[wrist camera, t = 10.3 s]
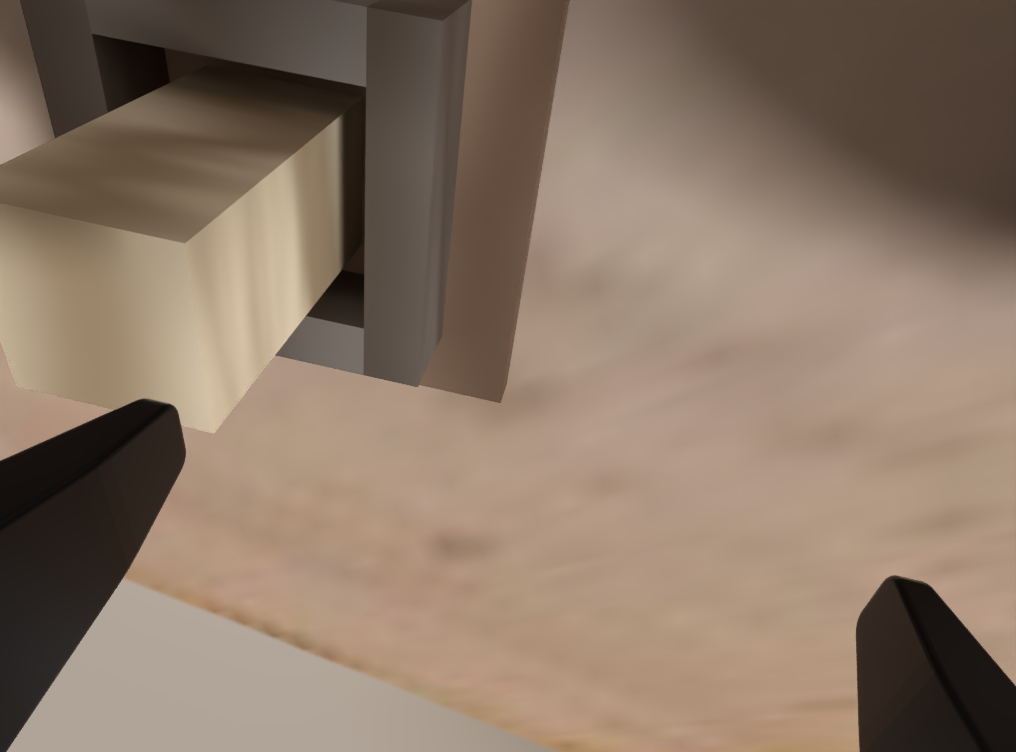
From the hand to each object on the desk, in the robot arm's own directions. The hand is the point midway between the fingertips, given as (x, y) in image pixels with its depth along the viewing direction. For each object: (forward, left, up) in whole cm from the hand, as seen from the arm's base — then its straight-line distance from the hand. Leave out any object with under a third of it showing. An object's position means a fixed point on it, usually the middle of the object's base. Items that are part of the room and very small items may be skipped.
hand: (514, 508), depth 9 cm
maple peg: (+8, +1, -11) cm, 14 cm away
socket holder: (+8, +1, -12) cm, 14 cm away
